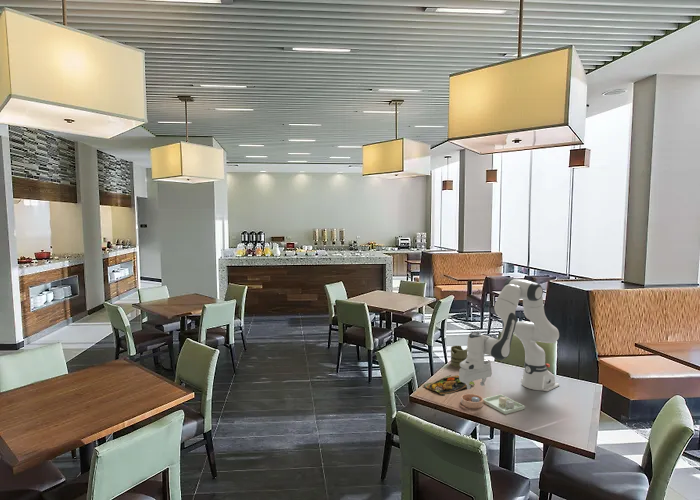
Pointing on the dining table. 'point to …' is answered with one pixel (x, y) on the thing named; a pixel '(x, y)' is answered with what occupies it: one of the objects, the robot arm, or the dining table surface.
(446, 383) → the prepared meal
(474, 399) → the pebble slate
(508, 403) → the pebble grey
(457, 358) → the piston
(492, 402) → the parts tray
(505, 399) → the pebble sand
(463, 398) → the bowl
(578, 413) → the dining table surface
